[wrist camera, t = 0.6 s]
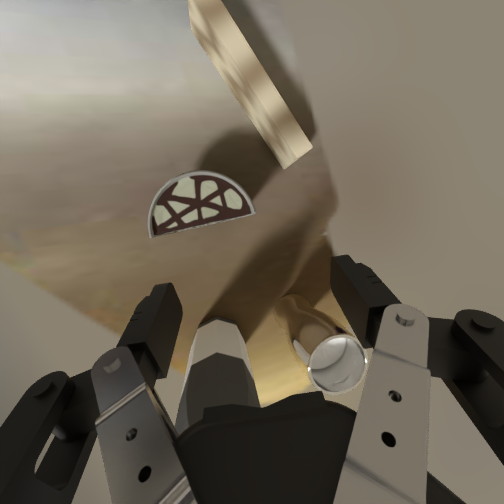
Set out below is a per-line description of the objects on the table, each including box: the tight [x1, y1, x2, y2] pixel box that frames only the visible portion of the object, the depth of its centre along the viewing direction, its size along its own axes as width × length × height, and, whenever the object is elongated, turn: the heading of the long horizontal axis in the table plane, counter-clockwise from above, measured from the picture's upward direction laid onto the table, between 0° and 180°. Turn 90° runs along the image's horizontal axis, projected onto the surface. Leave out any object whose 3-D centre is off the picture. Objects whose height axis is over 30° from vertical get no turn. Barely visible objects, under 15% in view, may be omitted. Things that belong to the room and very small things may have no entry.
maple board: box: [188, 0, 313, 169], centre depth 31 cm, size 22×2×6 cm, turn 37°
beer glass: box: [274, 294, 368, 395], centre depth 31 cm, size 7×7×15 cm
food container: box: [148, 170, 257, 238], centre depth 29 cm, size 12×6×10 cm, turn 103°
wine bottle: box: [175, 316, 261, 435], centre depth 22 cm, size 8×8×30 cm
